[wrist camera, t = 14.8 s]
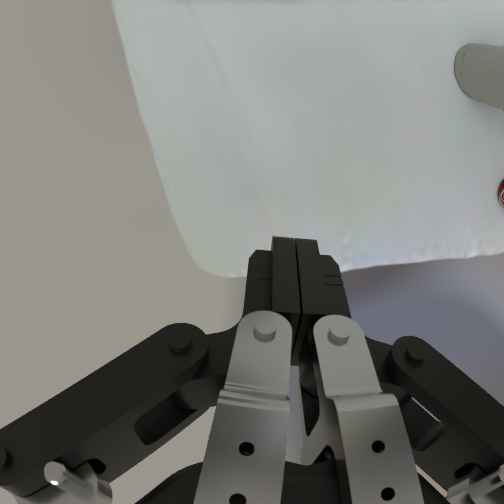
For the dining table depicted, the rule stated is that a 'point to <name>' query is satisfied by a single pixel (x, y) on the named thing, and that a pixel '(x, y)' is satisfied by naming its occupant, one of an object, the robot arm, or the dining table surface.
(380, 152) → the dining table surface
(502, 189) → the soda can
